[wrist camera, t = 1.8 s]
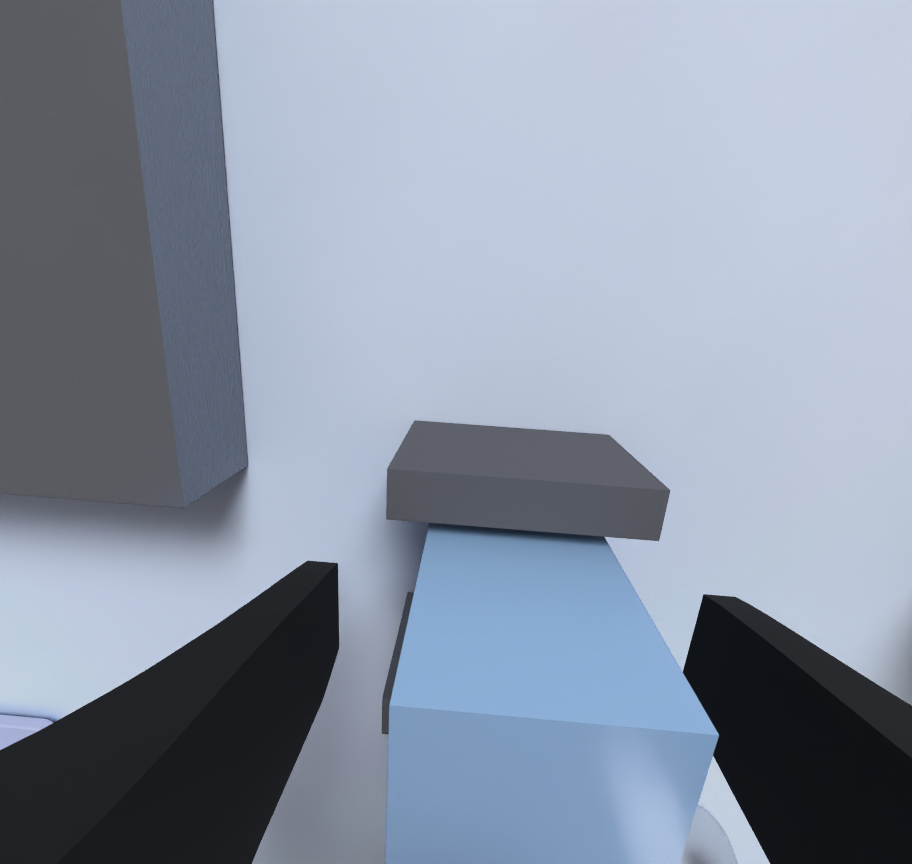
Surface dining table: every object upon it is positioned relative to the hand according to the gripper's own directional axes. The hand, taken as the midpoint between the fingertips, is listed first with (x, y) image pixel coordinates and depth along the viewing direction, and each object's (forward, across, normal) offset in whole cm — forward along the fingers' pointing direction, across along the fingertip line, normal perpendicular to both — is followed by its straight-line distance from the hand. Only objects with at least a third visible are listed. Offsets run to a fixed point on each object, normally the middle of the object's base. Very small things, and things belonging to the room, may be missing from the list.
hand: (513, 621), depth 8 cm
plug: (+3, 0, 0) cm, 4 cm away
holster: (+3, 0, 0) cm, 3 cm away
